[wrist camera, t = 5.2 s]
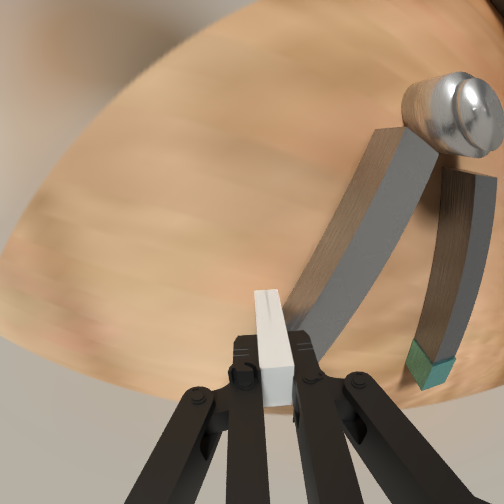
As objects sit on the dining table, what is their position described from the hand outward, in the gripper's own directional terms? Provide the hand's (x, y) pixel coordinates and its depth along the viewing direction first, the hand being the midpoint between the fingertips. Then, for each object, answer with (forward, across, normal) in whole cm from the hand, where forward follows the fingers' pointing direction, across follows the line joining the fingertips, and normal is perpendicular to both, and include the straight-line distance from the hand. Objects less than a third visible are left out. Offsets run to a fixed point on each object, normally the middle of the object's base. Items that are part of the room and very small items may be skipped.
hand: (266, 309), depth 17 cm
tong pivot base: (+1, +13, +3) cm, 13 cm away
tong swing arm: (+1, +7, +4) cm, 8 cm away
